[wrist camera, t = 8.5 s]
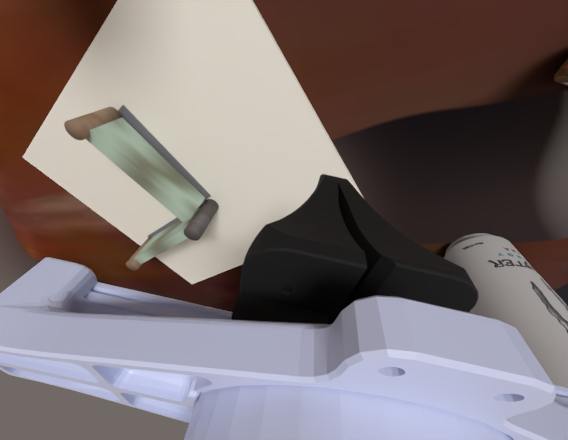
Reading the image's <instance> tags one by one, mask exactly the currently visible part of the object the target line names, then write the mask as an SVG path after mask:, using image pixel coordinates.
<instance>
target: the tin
mask: <svg viewBox="0 0 568 440" xmlns="http://www.w3.org/2000/svg"><path fill="white" fill-rule="evenodd" d="M554 81H555V82H558V83H561V84H564V85H567V86H568V59H567V60H566V61H565V62H564V63H563V65H562V66H561V67H560V68H559V69H558V71H557V72H556V74H555V76H554Z"/></svg>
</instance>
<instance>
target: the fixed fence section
mask: <svg viewBox="0 0 568 440" xmlns="http://www.w3.org/2000/svg"><path fill="white" fill-rule="evenodd" d="M218 208H219V205H218V203H217V202H216V201H214V200H212V199H207V200H205V202H204V203H203V204H202V206H201V207H200V208H198V209H197V210H196V211H195V213H194V214H193V216H192V217H191V218H190V219H189V220H187V221H186V222H184V223H183V222H182V221H181V220H179V221H177V222H175V223H174V224H172V225H171V226H169V227H167V228H166V229H164V230H163V231H161V232H159V233H158V234H156V235H154V236H153V237H148V239H147V240H146V241H145V242H144V243H143V244H142V245H141V247H140V248H139V249H138V250H137V251H136V252H135V253H134V255H133V256H132V257H131V258H130V259H129V260H128V261H127V263H126V266H127V267H128V268H129V269H131V270H138V268H139V267H140V266H141V265H142V263H144V262H146V261H148V260H150V259H151V258H153V257H155V256H157V255H159V254H161V253H162V252H164V251H166V250H168V249H170V248H172V247H173V246H175V245H177V244H179V243H181V242H183V241H184V240H186V239H188V238H189V239H190V240H194V241H196V240H199V239H200V238H201V236H202V235H203V233H204V231H205V230H206V228H207V226H208V225H209V223H210V222H211V220H212V218H213V217H214V215H215V213H216V212H217V210H218Z"/></svg>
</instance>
